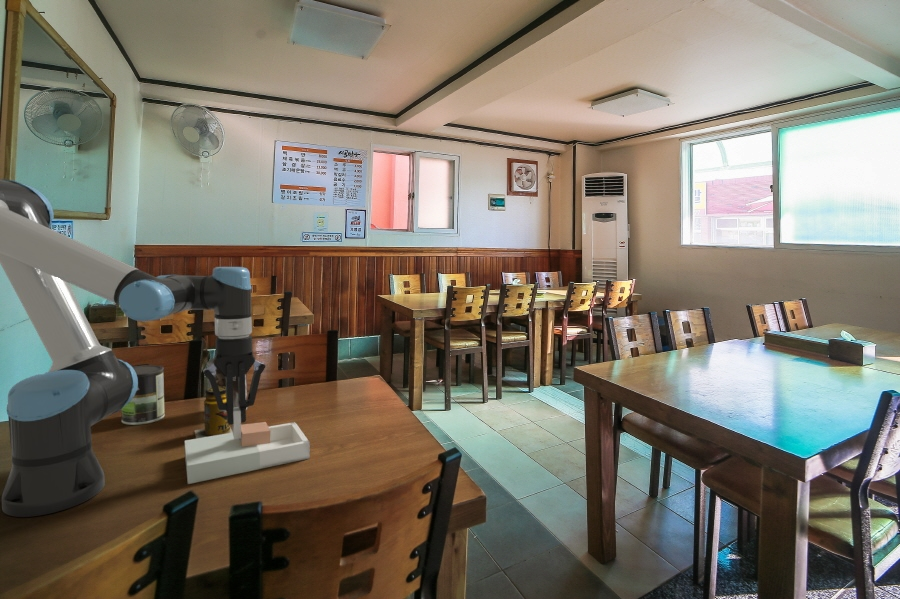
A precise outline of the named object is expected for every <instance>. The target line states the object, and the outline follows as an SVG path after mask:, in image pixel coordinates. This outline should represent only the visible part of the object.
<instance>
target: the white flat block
mask: <svg viewBox="0 0 900 599" xmlns="http://www.w3.org/2000/svg"><path fill="white" fill-rule="evenodd" d="M184 454H185V455H184V457H185V458H184V459H185V470H186V478H187V485H190V484H195V483H199V482H205V481H209V480H213V479H214V480H215V479H218V478H223V477H228V476H233V475H237V474H242V473H247V472H252V471H256V470H261V469H260V451H259V449H258V447H257V445H252V446H244V447H242V446H241V443H240V440H239V439H234V437H233V433H227V434H221V435H215V436H209V437H203V438H197V439H196V438H193V439H186V440H184Z"/></svg>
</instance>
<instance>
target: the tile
mask: <svg viewBox="0 0 900 599" xmlns="http://www.w3.org/2000/svg"><path fill="white" fill-rule="evenodd" d="M239 440H240V443H241V446H242V447H244V446H252V445H259V444H267V443H270V429H269V425H268V423H267V422H266V421H263V422H254V423H253V422H252V423H244V424H241V438H239Z"/></svg>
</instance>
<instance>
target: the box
mask: <svg viewBox="0 0 900 599" xmlns="http://www.w3.org/2000/svg"><path fill="white" fill-rule="evenodd" d="M268 427H269V429H270V443H267V444H259V445H257V447H258V449H259V451H260V469H259V470H261V469H265V468H270V467H274V466H275V467H276V466H281V465H283V464H285V465H286V464H289V463H294V462H299V461H305V460H309V459H310V458H311V457H310V456H311V455H310V453H311V452H310V451H311V450H310V448H311V447H310V444H311V443H310V440H308V438H307V436H306V435H305V434H304V432H303V431H302V430H301V428H300V427H299V425H298V424H297V423H296V422H295V421H294V422H288V423H282V424H276V425H271V426H269V425H268Z"/></svg>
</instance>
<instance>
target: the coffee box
mask: <svg viewBox="0 0 900 599" xmlns="http://www.w3.org/2000/svg"><path fill="white" fill-rule="evenodd" d="M214 359H215V357H213V358H211V359H210V360H208V361H207V362H206V368H208V367H209V366H211V365H212V364H214ZM215 371H216V374H215V375H214V376H215V379H216V382H217V385H218V386H222V387H226V379H225V376H224V375H223V374H222V373H221V372H220V371H219V370H218V369H217V368H216V369H215ZM247 377H248V376H247V373H246V374H245V394H246V400H247V398H248V386H247V385H248V384H247V381H248V380H247V379H248V378H247ZM206 378H207V377H206ZM206 380H207V389H209V388H212V387H211V384H210V381H209V379H208V378H207V379H206ZM236 407H239V395H238V376H235V377H233V408H236ZM246 410H248V407H247V408H246Z"/></svg>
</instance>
